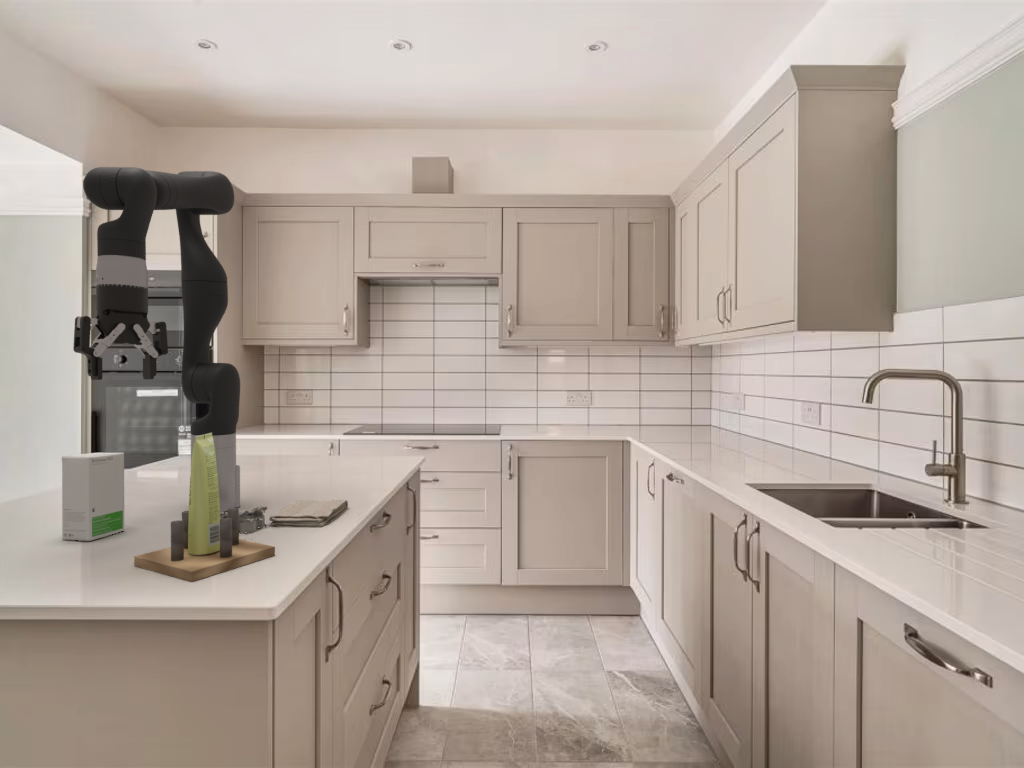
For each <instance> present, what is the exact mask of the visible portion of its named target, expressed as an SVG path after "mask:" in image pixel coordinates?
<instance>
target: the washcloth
mask: <svg viewBox="0 0 1024 768" xmlns="http://www.w3.org/2000/svg"><path fill="white" fill-rule="evenodd" d="M348 507H349V502H348V500H346V499H329V500H315V499H314V500H312V499H311V500H310V499H309V500H307V499H306V500H304V499H303V500H297V501H296V502H294V503H292V504H289V505H287V506H286V507H284V508H282V509H281V510H279V511H277V512H275V513H273V514H271V515H270V516H269V517H268V518H269V519H268V520H269V521H270V522H271V523H270V524H269V526H268V527H277V528H278V527H279V528H322V527H324V526H327V525H328V524H330V523H331V522H333V521H334V520H335V519H337V517H339V516H340V515H342V513H344V512H345V511H347V509H348Z"/></svg>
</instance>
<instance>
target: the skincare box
mask: <svg viewBox="0 0 1024 768" xmlns="http://www.w3.org/2000/svg"><path fill="white" fill-rule="evenodd" d="M61 467H62V468H61V469H62V470H61V473H62V475H61V477H62V478H61V481H62V483H61V486H62V487H61V488H62V489H61V490H62V491H61V492H62V495H61V497H62V498H61V499H62V502H61V503H62V505H61V506H62V507H61V508H62V511H61V513H62V514H61V515H62V519H61V520H62V523H61V525H62V528H61V529H62V537H61V538H62V540H66V541H75V540H78V542H91V541H95V540H97V539H102V538H106V537H109V536H112V534H113V535H116V534H119V533H118V532H120V533H122V532H121V531H124V530H125V527H126V525H125V452H91V453H79V454H72V455H71V454H69V455H62V456H61ZM124 532H125V531H124ZM115 533H116V534H115Z"/></svg>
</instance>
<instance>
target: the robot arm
mask: <svg viewBox="0 0 1024 768" xmlns="http://www.w3.org/2000/svg"><path fill="white" fill-rule="evenodd" d="M82 185H83V186H82V187H83V191H84V194H85V196H86V198H87V199H88V201H90V203H92V204H93V205H94V206H96V207H98V208H100V209H102V210H107V211H122V212H121V214H120V216H119V217H118V218H115V219H114V220H110V221H106V222H102V223H101V224H99V225H98V227H97V231H96V235H97V236H96V240H97V241H96V243H97V247H96V248H97V251H96V252H97V258H96V267H95V296H96V297H95V303H96V304H95V305H96V313H97V314H96V316H95V317H90V316H89V315H82V316H81V315H80V316H76V317H75V319H74V331H73V352H75V353H77V354H78V353H79V354H80V355H83V356H85V357H86V363H87V364H86V366H87V368H86V369H87V370H86V371H87V375H88V377H90V379H91V380H92V381H101V380H102V379H103V357H101V356H102V354H103V353H104V352H105V351H106V350H107V348H109V347H110V346H111V345H129V346H130V345H133V346H134V347H135V348H136V349H138V350H139V352H140V353H141V354H142V356H143V357H144V358H142V378H143V380H153V379H155V377H156V376H157V369H158V368H157V359H158V357H161V356H165V355H167V354H168V353H169V346H168V332H167V323H166V322H165V321H154V322H153V321H152V322H150V321H149V319H148V313H149V273H148V269H147V247H146V246H147V245H146V244H147V243H146V242H147V241H146V240H147V235H148V230H149V228H150V224H151V221H152V217H153V214H154V211H169V210H171V211H173V210H175V213H176V221H177V222H176V223H177V228H178V229H177V230H178V237H179V247H180V249H179V250H180V265H181V266H180V267H181V269H180V270H181V271H180V274H181V275H180V279H181V280H180V281H181V282H180V283H181V299H182V301H181V302H182V310H183V311H182V314H183V315H182V316H183V317H182V318H183V320H182V323H183V324H182V325H183V341H182V342H183V343H182V344H183V345H182V358H181V360H182V361H181V376H180V377H181V387H182V389H181V390H182V392H183V394H184V397H185V399H187V401H189V402H190V403H193V404H210V405H209V406H210V407H209V412H208V413H207V414H205V415H204V416H203V417H200V418H198V419H195V420H193V421H192V422H191V424H190V465H191V464H192V454H193V447H194V442H195V436H200V435H205V434H209V433H212V437H213V441H214V446H215V454H216V464H217V474H218V487H219V502H220V512H225V513H226V512H227V510H228V509H233V508H240V507H241V466H240V465H239V464H237V424H238V422H239V416H240V397H241V377H240V373H239V371H238V368H236V366H234V365H233V364H232V363H228V362H210V346H211V341H212V337H214V334H215V331H216V330H217V329H218V326H219V324H220V322H222V321H221V320H222V319H223V317H224V315H225V313H226V310H228V309H227V308H228V304H229V292H228V276H227V271H226V270H225V269H224V267H223V265H222V264H221V262H220V261H219V259H218V257H217V256H216V255H215V254H214V252H213V251H212V249H211V248H210V246H209V244H208V242H206V240H205V237H204V234H203V230H202V227H201V216H219V215H225V214H227V213H229V212H230V211H231V210H232V208H233V207H234V204H235V191H234V187H233V185H232V182H231V181H230V179H229V178H228V176H226V175H225V174H223V173H222V172H219V171H214V170H213V171H212V170H211V171H209V170H207V171H206V170H202V171H201V170H200V171H199V170H197V171H195V170H193V171H191V170H190V171H189V170H188V171H180V172H178V173H171V172H164V171H157V170H155V171H154V170H146V169H143V168H141V167H136V166H135V167H133V166H132V167H131V166H125V167H124V166H123V167H121V166H119V167H118V166H115V167H114V166H98V167H94V168H92V169H91V170H89V171H88V172H87V173H86V174H85V175H84V178H83V183H82ZM94 327H95V328H96V329H97V330H98V332H99V333H98V335H96V337H95V338H94V340H93V341H92V344H91V331H92V330H94ZM148 331H149V332H150V333H151V334H152V335H151V336H152V341H151V340H150V338H149V336H147V334H146V333H147V332H148ZM90 344H91V345H90Z"/></svg>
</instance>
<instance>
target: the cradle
mask: <svg viewBox="0 0 1024 768" xmlns="http://www.w3.org/2000/svg"><path fill="white" fill-rule="evenodd" d="M226 512H227V513H226V514H227V518H222V519H220V550H219V551H217V552H214V553H211V554H206V555H192V554H189V553H188V520H189V510H184V511H181V520H174V521H171V522H170V547H166V548H161V549H158V550H153V551H149V552H146V553H141V554H138V555H134V556H133V566H134V567H137V566H138V568H141V569H145V570H148V571H152V572H155V573H159V574H163V575H166V576H170V577H175V578H177V579H181V580H183V581H188V582H195V581H199V580H202V579H205V578H208V577H211V576H214V575H217V574H220V573H223V572H227V571H230V570H233V569H237V568H239V567H242V566H246V565H249V564H252V563H256V562H258V561H262V560H265V559H269V558H271V557H274V556H275V555H276V547H275V546H272V545H268V544H265V543H258V542H254V541H249V540H245V539H240V532H239V512H240V509H239V508H238V507H236V508H233V509H228V510H227V511H226Z"/></svg>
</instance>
